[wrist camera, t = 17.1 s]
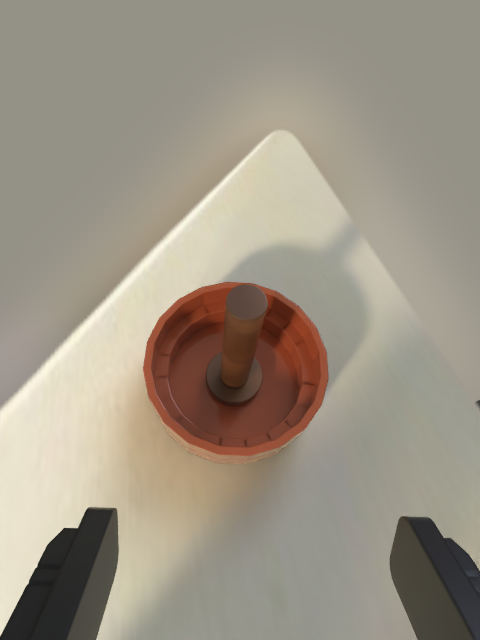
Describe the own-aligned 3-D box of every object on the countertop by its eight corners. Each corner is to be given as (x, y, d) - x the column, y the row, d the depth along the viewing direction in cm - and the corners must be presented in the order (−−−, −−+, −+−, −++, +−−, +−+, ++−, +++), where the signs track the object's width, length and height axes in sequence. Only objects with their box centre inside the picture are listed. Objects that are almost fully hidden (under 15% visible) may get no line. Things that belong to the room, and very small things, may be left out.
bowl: (308, 314, 39) (321, 287, 34) (317, 468, 32) (335, 459, 28) (162, 306, 38) (156, 277, 33) (141, 461, 31) (130, 451, 27)
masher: (261, 355, 36) (287, 268, 23) (261, 407, 33) (290, 342, 21) (207, 352, 35) (207, 264, 23) (204, 405, 33) (201, 337, 21)
